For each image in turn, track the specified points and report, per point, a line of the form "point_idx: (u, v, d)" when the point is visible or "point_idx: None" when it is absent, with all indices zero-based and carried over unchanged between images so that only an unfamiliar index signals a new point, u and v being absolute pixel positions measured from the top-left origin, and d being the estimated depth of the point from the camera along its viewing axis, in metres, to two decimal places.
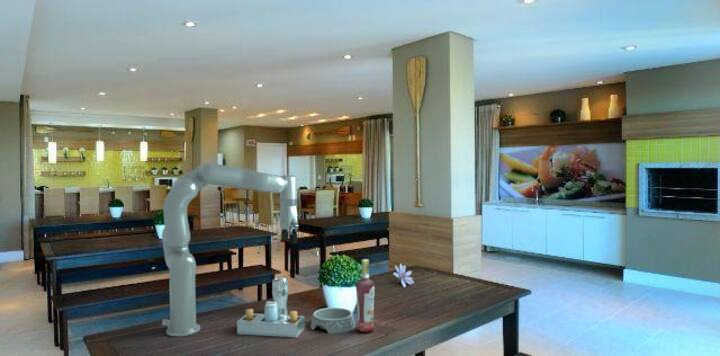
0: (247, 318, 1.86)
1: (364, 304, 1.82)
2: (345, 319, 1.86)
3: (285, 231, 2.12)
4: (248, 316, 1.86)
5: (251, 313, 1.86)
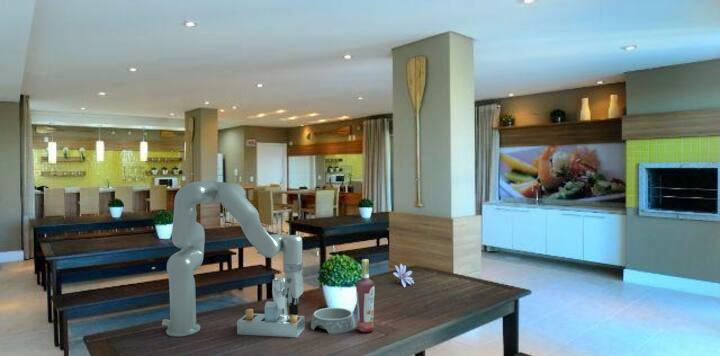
0: (247, 318, 1.86)
1: (364, 304, 1.82)
2: (345, 319, 1.86)
3: None
4: (248, 316, 1.86)
5: (251, 313, 1.86)
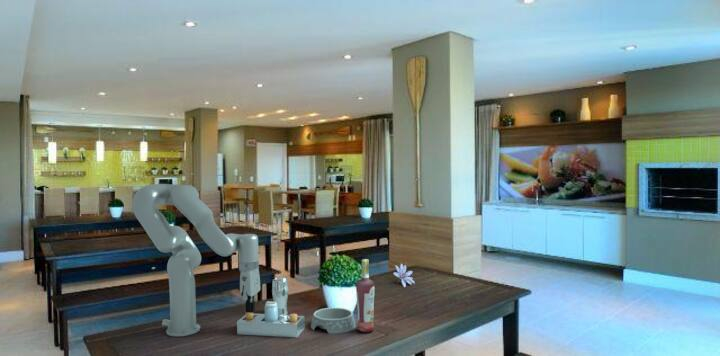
0: None
1: (364, 304, 1.82)
2: (345, 319, 1.86)
3: None
4: (248, 318, 1.86)
5: (251, 315, 1.86)
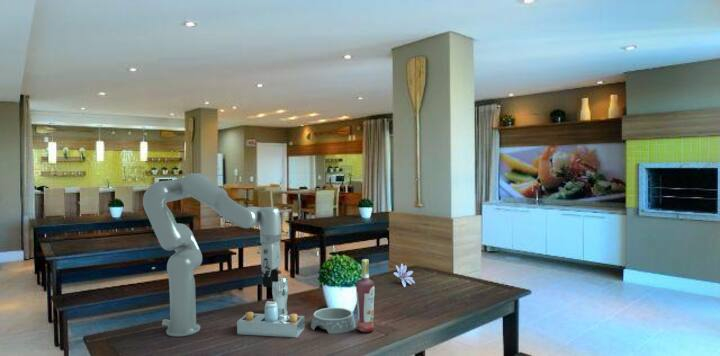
0: None
1: (364, 304, 1.82)
2: (345, 319, 1.86)
3: None
4: (248, 319, 1.86)
5: (251, 316, 1.86)
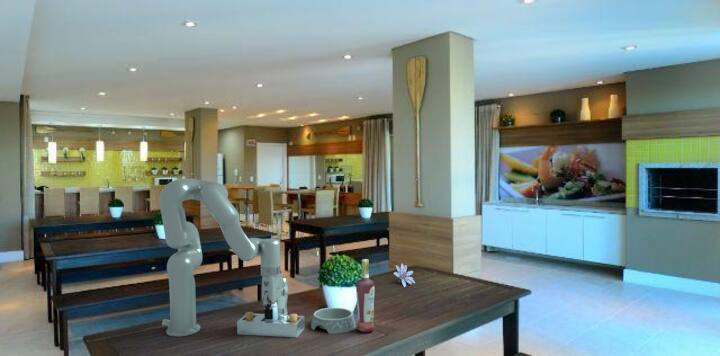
0: None
1: (364, 304, 1.82)
2: (345, 319, 1.86)
3: None
4: (248, 319, 1.86)
5: (251, 316, 1.86)
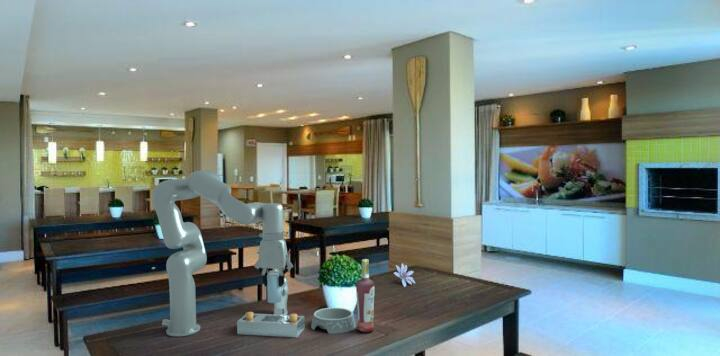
0: None
1: (364, 304, 1.82)
2: (345, 319, 1.86)
3: (267, 273, 1.76)
4: (248, 319, 1.86)
5: (251, 316, 1.86)
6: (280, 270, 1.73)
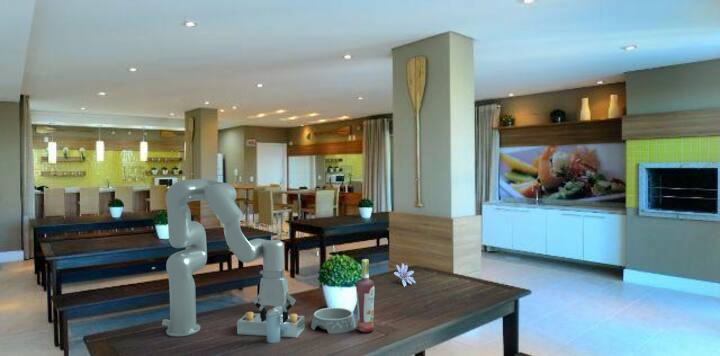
0: None
1: (364, 304, 1.82)
2: (345, 319, 1.86)
3: (264, 309, 1.77)
4: (248, 319, 1.86)
5: (251, 316, 1.86)
6: (283, 306, 1.74)
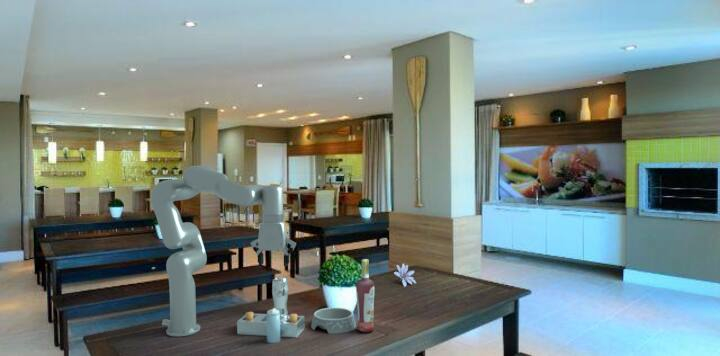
0: None
1: (364, 304, 1.82)
2: (345, 319, 1.86)
3: (261, 253, 1.76)
4: (248, 319, 1.86)
5: (251, 316, 1.86)
6: (283, 250, 1.73)
